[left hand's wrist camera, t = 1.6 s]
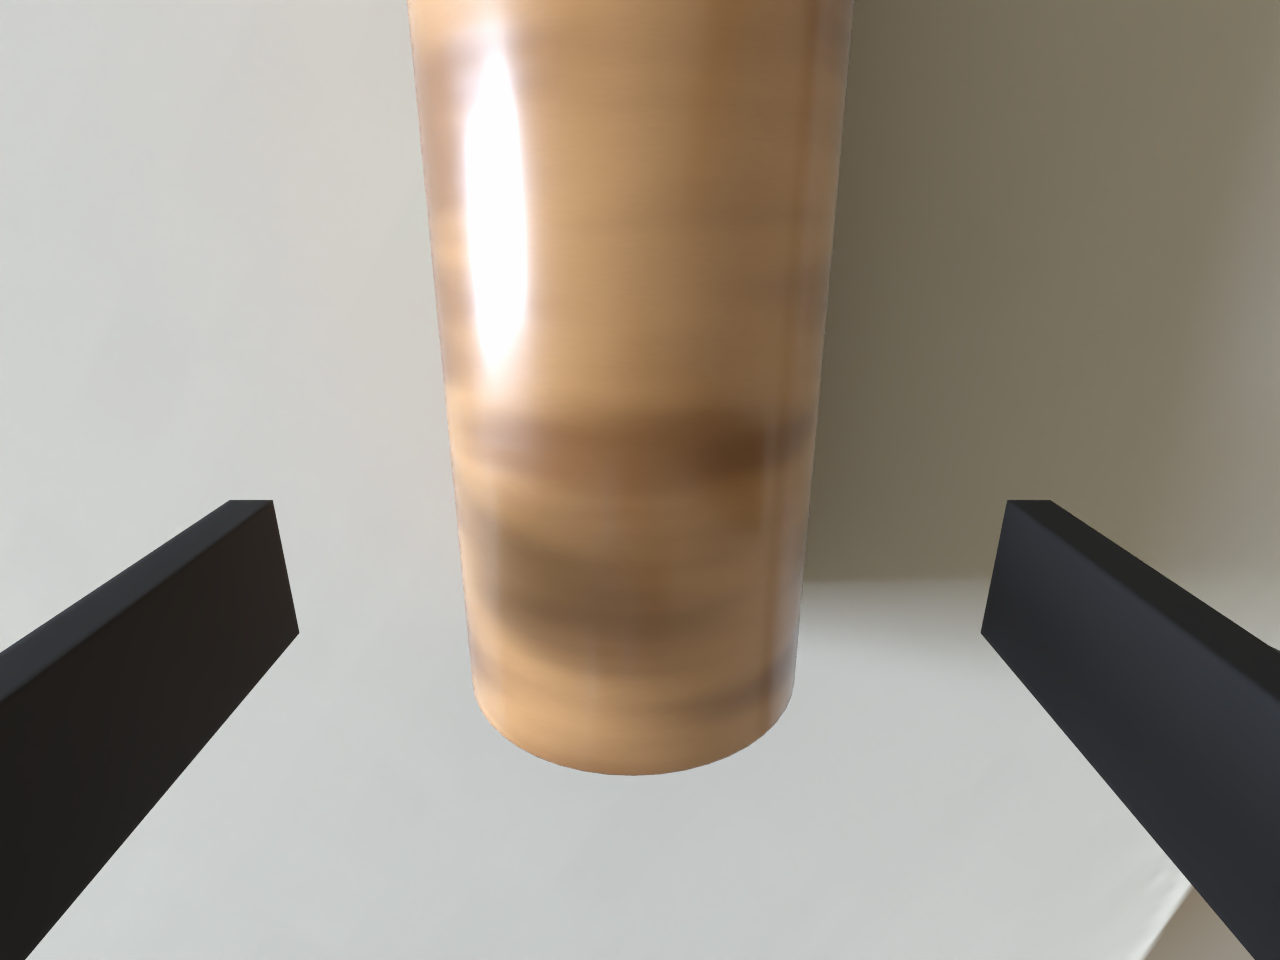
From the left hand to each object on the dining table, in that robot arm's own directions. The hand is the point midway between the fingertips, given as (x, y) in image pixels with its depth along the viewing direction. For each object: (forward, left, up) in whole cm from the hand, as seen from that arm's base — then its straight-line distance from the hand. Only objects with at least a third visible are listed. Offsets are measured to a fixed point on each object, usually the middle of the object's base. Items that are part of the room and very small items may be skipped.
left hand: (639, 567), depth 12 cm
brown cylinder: (+8, +5, -8) cm, 12 cm away
